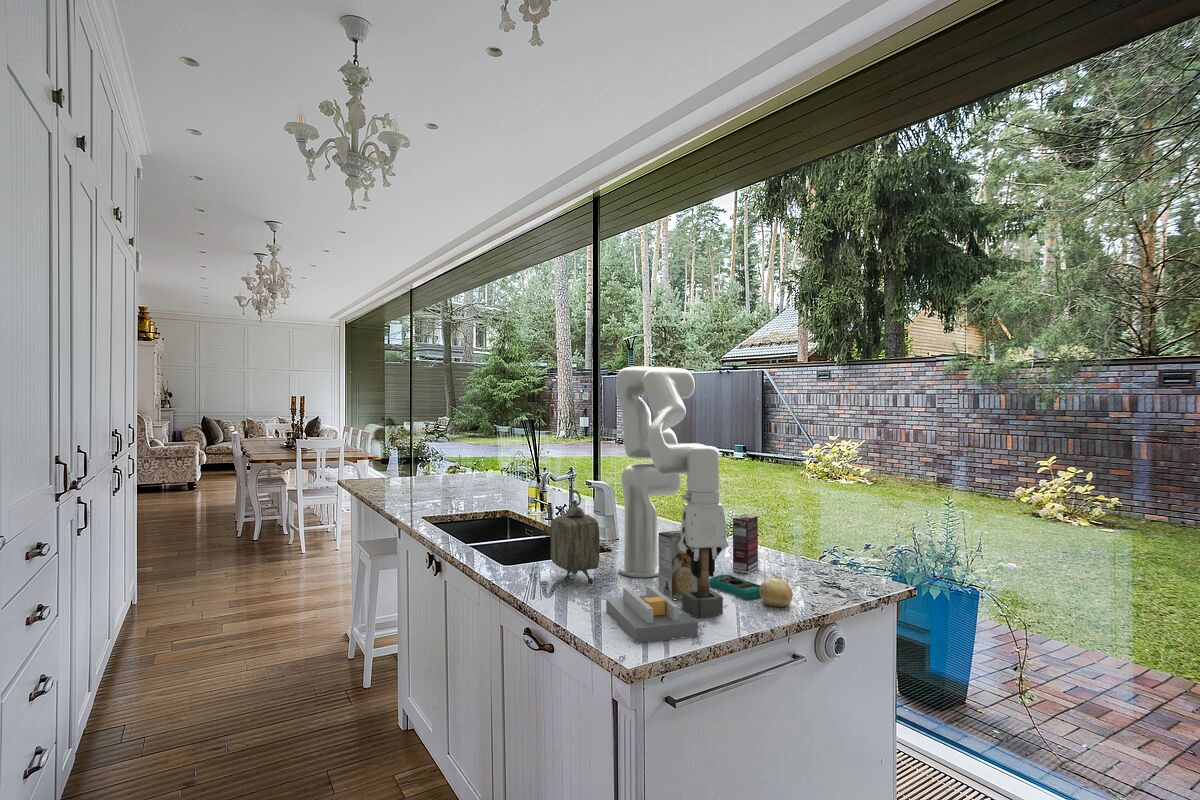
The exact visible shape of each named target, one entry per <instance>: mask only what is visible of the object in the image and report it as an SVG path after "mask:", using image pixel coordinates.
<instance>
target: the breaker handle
mask: <svg viewBox="0 0 1200 800" xmlns="http://www.w3.org/2000/svg"><path fill="white" fill-rule="evenodd" d="M643 600H644V601H645V602H646V603H647V604H648V605H650V606H651V607H652V608H653V616H655V615H665V600H664V599H663V598H661V597H649V598H643Z"/></svg>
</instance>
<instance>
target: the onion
mask: <svg viewBox="0 0 1200 800" xmlns="http://www.w3.org/2000/svg"><path fill="white" fill-rule="evenodd" d="M771 574H772V576H773V577H772V578H768V579H766V580H763V581H762V582H761V584H760V585H761V586H760V589H759V593H760V596H761V597H760V598H761V599H762V602H763V603H764V604H765V605H766V606H769V607H772V608H773V607H774V608H783V607H786V606H787V605H788V604H790V603H791V602H792V600H793V595H794V594H793V593H794V591H793V589H792V587H791V586H790V584H789V583H788V582H787V581H786V580H785V579H783V577H782V576H781V575H779V574H776V575H775V574H774V573H771Z"/></svg>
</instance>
